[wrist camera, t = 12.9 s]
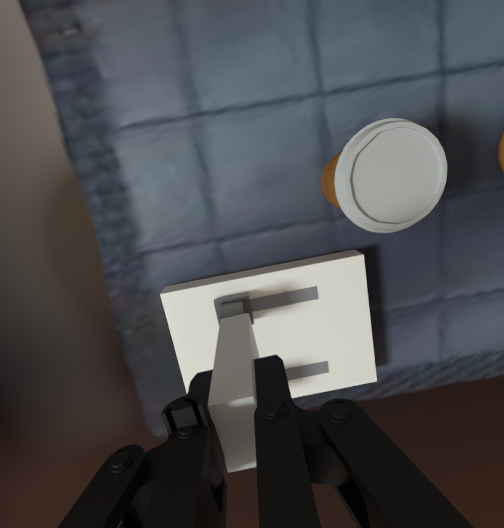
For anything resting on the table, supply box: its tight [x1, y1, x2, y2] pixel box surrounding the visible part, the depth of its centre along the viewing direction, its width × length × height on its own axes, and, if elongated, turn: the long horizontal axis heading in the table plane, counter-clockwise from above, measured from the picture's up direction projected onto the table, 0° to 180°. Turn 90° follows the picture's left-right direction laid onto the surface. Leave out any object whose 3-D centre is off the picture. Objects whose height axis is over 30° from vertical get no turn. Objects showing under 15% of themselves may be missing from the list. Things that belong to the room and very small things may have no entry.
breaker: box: [214, 292, 254, 325], centre depth 34 cm, size 4×4×6 cm
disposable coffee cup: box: [321, 118, 447, 233], centre depth 32 cm, size 10×10×12 cm
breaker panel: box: [160, 250, 377, 398], centre depth 40 cm, size 24×17×3 cm
